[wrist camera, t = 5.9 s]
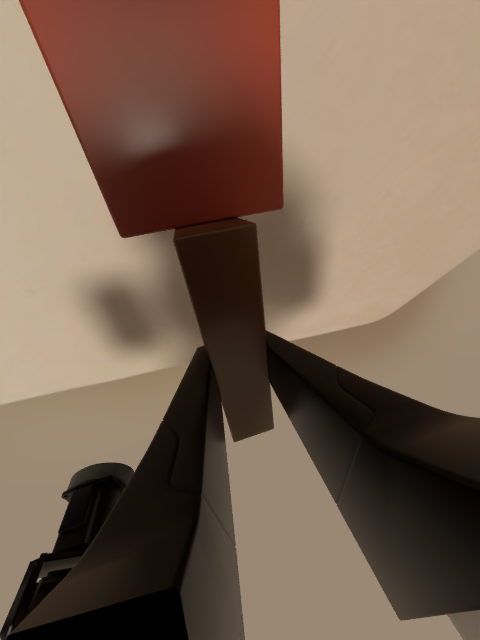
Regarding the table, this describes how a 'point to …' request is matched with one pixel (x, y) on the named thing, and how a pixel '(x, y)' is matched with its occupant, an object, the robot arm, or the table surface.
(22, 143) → the table surface
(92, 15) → the red pad with bar
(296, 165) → the table surface
